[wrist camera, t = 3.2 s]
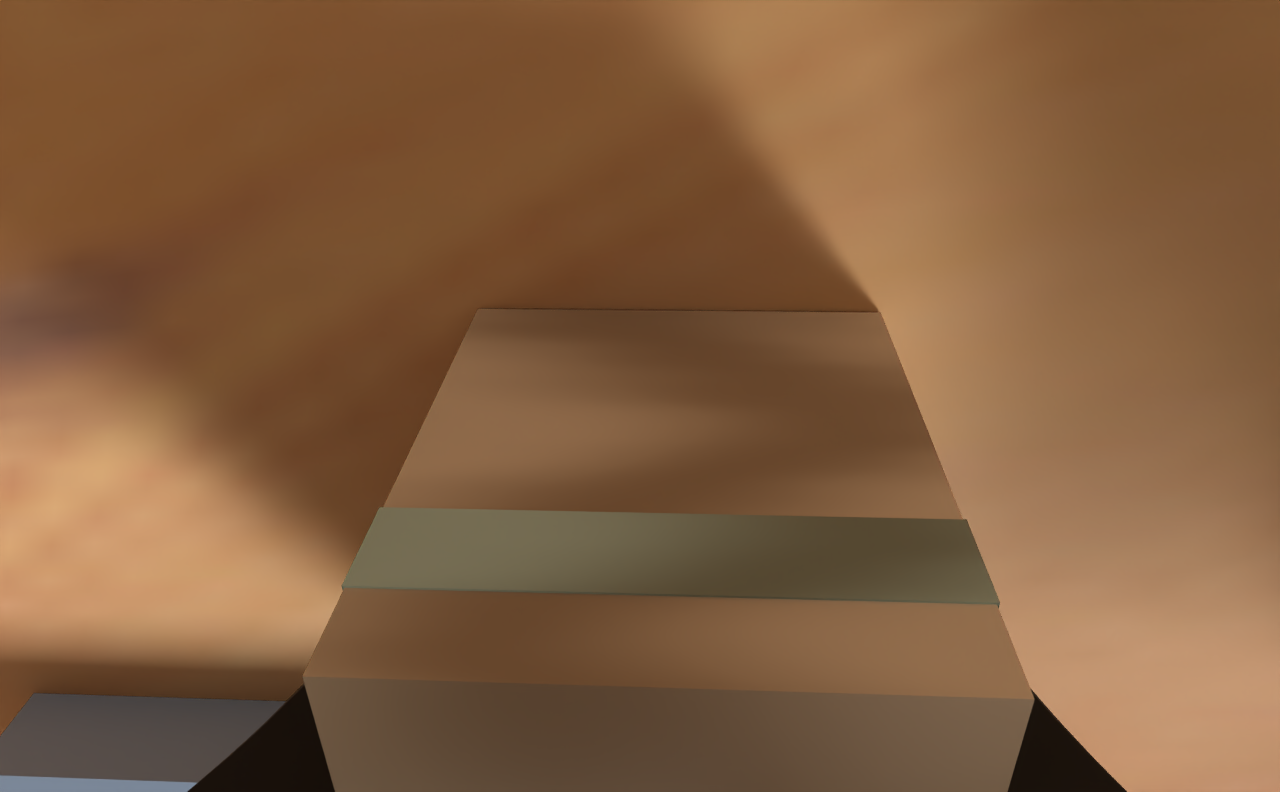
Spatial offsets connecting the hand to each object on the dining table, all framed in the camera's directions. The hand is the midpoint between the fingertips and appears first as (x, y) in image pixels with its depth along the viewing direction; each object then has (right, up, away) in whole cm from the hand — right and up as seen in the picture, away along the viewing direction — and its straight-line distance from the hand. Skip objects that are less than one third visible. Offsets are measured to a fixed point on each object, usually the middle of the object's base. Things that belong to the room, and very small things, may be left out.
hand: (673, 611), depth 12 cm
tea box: (0, +1, +1) cm, 2 cm away
